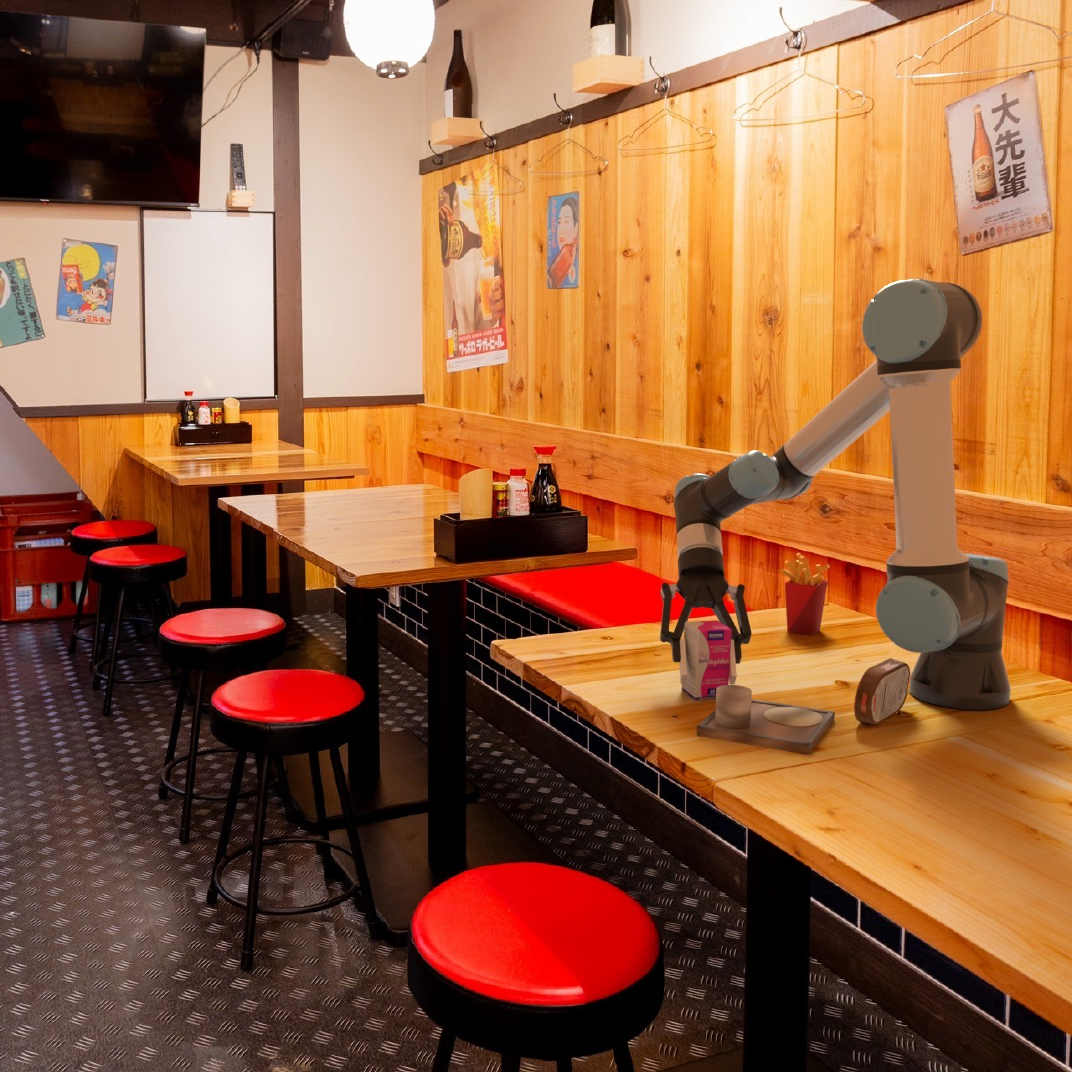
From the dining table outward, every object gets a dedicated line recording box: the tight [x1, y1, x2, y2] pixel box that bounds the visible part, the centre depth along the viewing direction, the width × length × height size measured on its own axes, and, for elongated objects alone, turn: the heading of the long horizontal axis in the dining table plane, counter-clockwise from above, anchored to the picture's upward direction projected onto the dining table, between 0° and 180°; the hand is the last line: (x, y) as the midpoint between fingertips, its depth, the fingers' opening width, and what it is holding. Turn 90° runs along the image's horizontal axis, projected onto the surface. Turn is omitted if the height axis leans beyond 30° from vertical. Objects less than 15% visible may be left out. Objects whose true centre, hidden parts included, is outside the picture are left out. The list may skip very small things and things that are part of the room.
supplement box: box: [681, 619, 732, 701], centre depth 183 cm, size 6×6×12 cm
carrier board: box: [696, 684, 836, 755], centre depth 168 cm, size 16×16×6 cm
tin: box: [853, 657, 911, 726], centre depth 174 cm, size 15×3×8 cm, turn 141°
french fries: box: [780, 552, 830, 636], centre depth 224 cm, size 9×8×15 cm
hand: (708, 679), depth 180 cm, fingers closed on supplement box, 7 cm apart
